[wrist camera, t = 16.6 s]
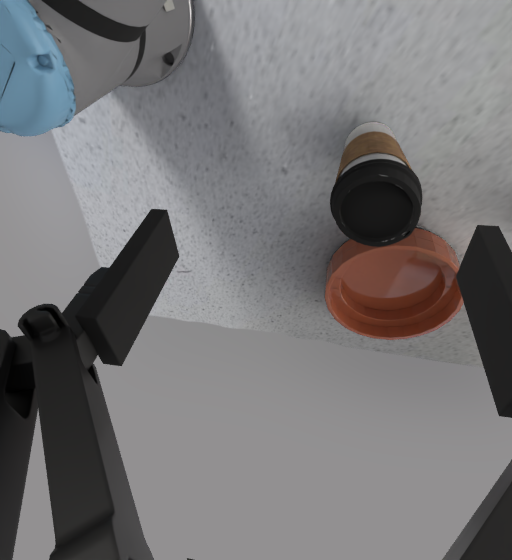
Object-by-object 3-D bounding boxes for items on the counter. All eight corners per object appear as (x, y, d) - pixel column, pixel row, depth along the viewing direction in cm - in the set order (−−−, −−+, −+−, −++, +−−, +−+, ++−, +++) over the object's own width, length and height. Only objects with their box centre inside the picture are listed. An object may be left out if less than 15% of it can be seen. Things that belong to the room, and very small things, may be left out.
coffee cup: (374, 190, 48) (381, 264, 37) (320, 156, 46) (311, 224, 35) (423, 135, 42) (448, 204, 31) (364, 95, 40) (368, 154, 30)
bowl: (323, 311, 65) (321, 332, 62) (331, 220, 52) (330, 241, 49) (438, 321, 62) (443, 345, 58) (477, 227, 49) (488, 251, 45)
